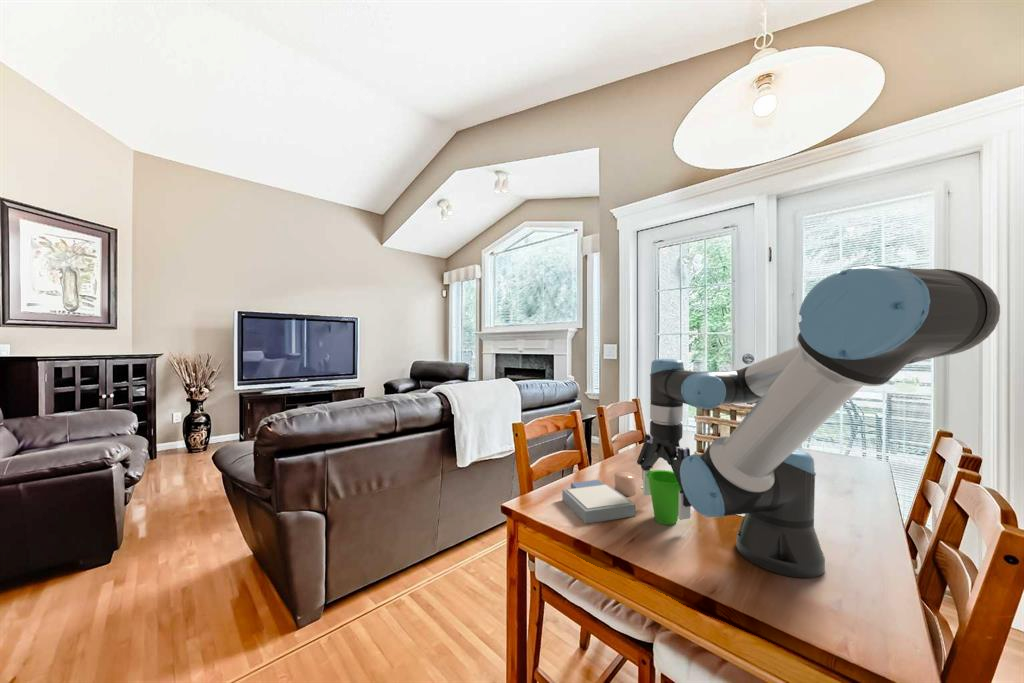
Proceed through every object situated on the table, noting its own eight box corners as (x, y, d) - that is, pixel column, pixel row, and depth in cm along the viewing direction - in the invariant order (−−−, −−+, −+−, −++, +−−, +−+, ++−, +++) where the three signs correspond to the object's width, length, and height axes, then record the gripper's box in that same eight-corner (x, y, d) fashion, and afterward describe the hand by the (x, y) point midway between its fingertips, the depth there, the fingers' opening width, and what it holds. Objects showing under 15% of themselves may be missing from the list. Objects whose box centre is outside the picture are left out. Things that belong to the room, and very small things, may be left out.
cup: (692, 529, 92) (692, 483, 91) (653, 528, 92) (653, 483, 92) (676, 511, 101) (676, 469, 100) (641, 511, 101) (641, 469, 101)
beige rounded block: (640, 494, 111) (640, 477, 111) (621, 497, 110) (621, 480, 110) (628, 487, 117) (628, 470, 117) (610, 489, 116) (610, 472, 115)
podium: (635, 515, 98) (635, 503, 98) (585, 523, 94) (585, 510, 94) (606, 494, 112) (606, 483, 112) (562, 500, 108) (562, 488, 108)
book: (607, 495, 112) (607, 487, 112) (579, 499, 110) (579, 490, 110) (597, 487, 118) (597, 479, 118) (570, 490, 116) (570, 482, 115)
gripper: (718, 433, 85) (716, 528, 86) (647, 410, 109) (646, 484, 110) (690, 435, 83) (688, 533, 84) (624, 411, 107) (623, 487, 107)
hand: (664, 505), depth 97 cm, fingers open, 13 cm apart
